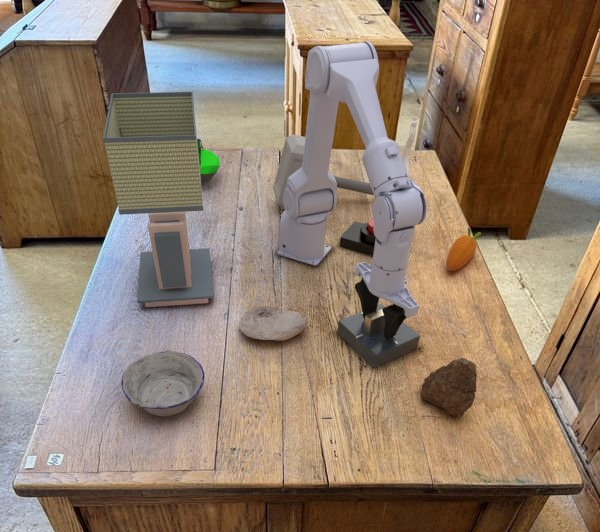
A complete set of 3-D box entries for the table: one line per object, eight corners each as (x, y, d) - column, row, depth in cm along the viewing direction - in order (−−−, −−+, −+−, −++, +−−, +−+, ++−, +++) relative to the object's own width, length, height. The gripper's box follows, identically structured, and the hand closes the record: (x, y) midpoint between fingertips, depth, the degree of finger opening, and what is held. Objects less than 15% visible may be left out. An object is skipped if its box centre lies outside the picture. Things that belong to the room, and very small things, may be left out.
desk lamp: (214, 309, 110) (197, 135, 86) (139, 314, 108) (100, 138, 84) (210, 256, 122) (194, 91, 99) (142, 260, 121) (109, 93, 97)
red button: (364, 232, 124) (365, 225, 123) (371, 224, 126) (372, 217, 125) (380, 236, 123) (381, 229, 122) (386, 229, 125) (387, 221, 124)
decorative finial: (407, 238, 130) (429, 124, 112) (390, 238, 129) (408, 124, 111) (402, 225, 134) (422, 112, 116) (385, 225, 133) (402, 112, 115)
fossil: (229, 322, 101) (251, 293, 108) (231, 342, 104) (252, 312, 111) (294, 335, 98) (312, 304, 105) (294, 354, 101) (312, 323, 108)
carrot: (466, 268, 116) (488, 234, 125) (446, 254, 116) (470, 220, 125) (452, 284, 120) (475, 249, 129) (433, 270, 120) (457, 236, 129)
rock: (413, 388, 97) (436, 343, 90) (446, 389, 99) (471, 344, 92) (434, 430, 90) (461, 384, 83) (468, 430, 92) (497, 385, 85)
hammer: (406, 158, 138) (287, 130, 129) (416, 173, 133) (293, 145, 123) (383, 215, 148) (271, 193, 139) (391, 230, 143) (275, 209, 134)
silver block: (368, 336, 101) (371, 319, 98) (363, 331, 102) (365, 314, 99) (394, 324, 104) (397, 308, 101) (389, 320, 104) (392, 303, 102)
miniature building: (175, 170, 149) (169, 127, 141) (220, 169, 150) (217, 126, 142) (173, 192, 141) (167, 147, 133) (221, 191, 142) (217, 147, 134)
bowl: (220, 409, 92) (217, 388, 89) (143, 439, 88) (137, 419, 84) (188, 361, 100) (185, 340, 96) (116, 387, 95) (110, 365, 91)
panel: (336, 333, 106) (338, 320, 104) (379, 315, 110) (381, 302, 108) (373, 368, 100) (375, 355, 98) (417, 348, 104) (420, 334, 102)
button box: (339, 246, 127) (341, 229, 124) (353, 229, 132) (355, 213, 129) (381, 258, 124) (384, 242, 121) (394, 241, 129) (397, 225, 126)
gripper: (439, 276, 90) (423, 341, 100) (381, 234, 98) (371, 298, 108) (404, 290, 87) (391, 356, 97) (348, 245, 96) (341, 310, 105)
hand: (379, 326), depth 103 cm, fingers open, 5 cm apart
